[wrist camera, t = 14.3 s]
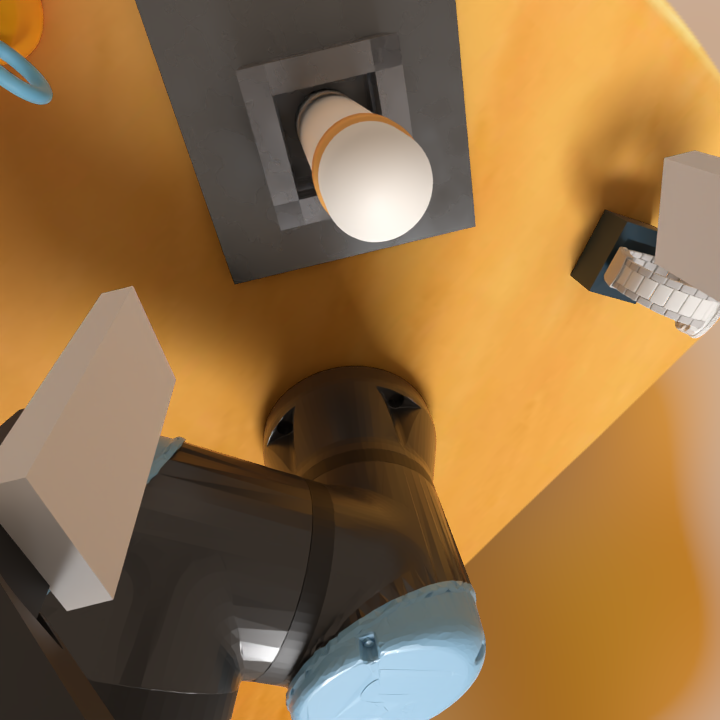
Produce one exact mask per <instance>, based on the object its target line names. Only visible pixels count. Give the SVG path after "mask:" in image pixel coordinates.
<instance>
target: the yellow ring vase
mask: <svg viewBox="0 0 720 720" xmlns="http://www.w3.org/2000/svg"><path fill="white" fill-rule="evenodd" d="M43 23H44V17H43V8H42V4H41V0H0V86H2V87H3V88H5V89H6V90H8V91H9V92H11V93H13V94H14V95H16V96H18V97H20V98H22V99H24V100H26V101H28V102H31V103H34V104H39V105H44V104H47V103H49V102H50V101H51V100H52V97H53V93H52V89H51V87H50V85H49V83H48V82H47V80H46V79H45V78H44V77H43V75H42V74H41V73H40V72H39V71H38V70H37V69H36V68H35V67H34V66H33V65H32V64H31V63H30V62H29V61H28V60H26V59H25V58H26V57H27V56H28V55H30V54H31V53H32V52H33V51H34V49H35V48H36V46H37V45H38V43H39V41H40V38H41V35H42V31H43ZM4 64H9V65H10V66H11V67H13V68H14V69H15V70H16V71H18V72H19V73H20V74H21V75H22V76H23V77H24V78H25V79H26V80H27V81H28V82H29V83H30V84H31V85H30V84H28V83H26V82H24V81H23V80H21V79H19V78H18V77H16V76H15V75H13V74H12V73H11V72H9V71H8V70H6V69H5V68H4V67H3V66H1V65H4Z"/></svg>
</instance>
